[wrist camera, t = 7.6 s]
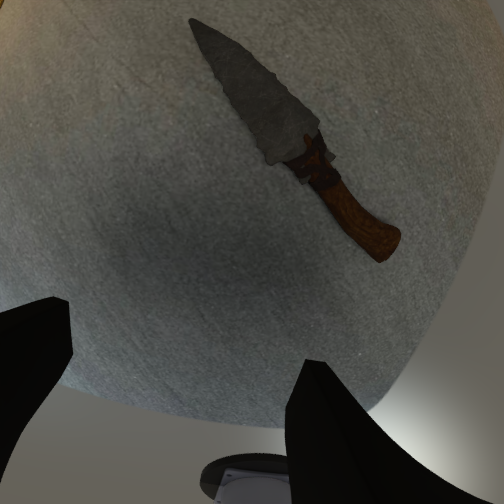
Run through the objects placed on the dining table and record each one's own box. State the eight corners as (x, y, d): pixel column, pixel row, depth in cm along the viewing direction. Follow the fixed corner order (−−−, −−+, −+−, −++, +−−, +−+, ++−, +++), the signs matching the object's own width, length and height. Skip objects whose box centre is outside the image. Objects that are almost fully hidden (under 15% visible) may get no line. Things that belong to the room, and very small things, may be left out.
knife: (415, 248, 15) (343, 300, 14) (392, 246, 17) (324, 292, 16) (266, -15, 12) (180, 8, 12) (257, 6, 14) (180, 30, 14)
